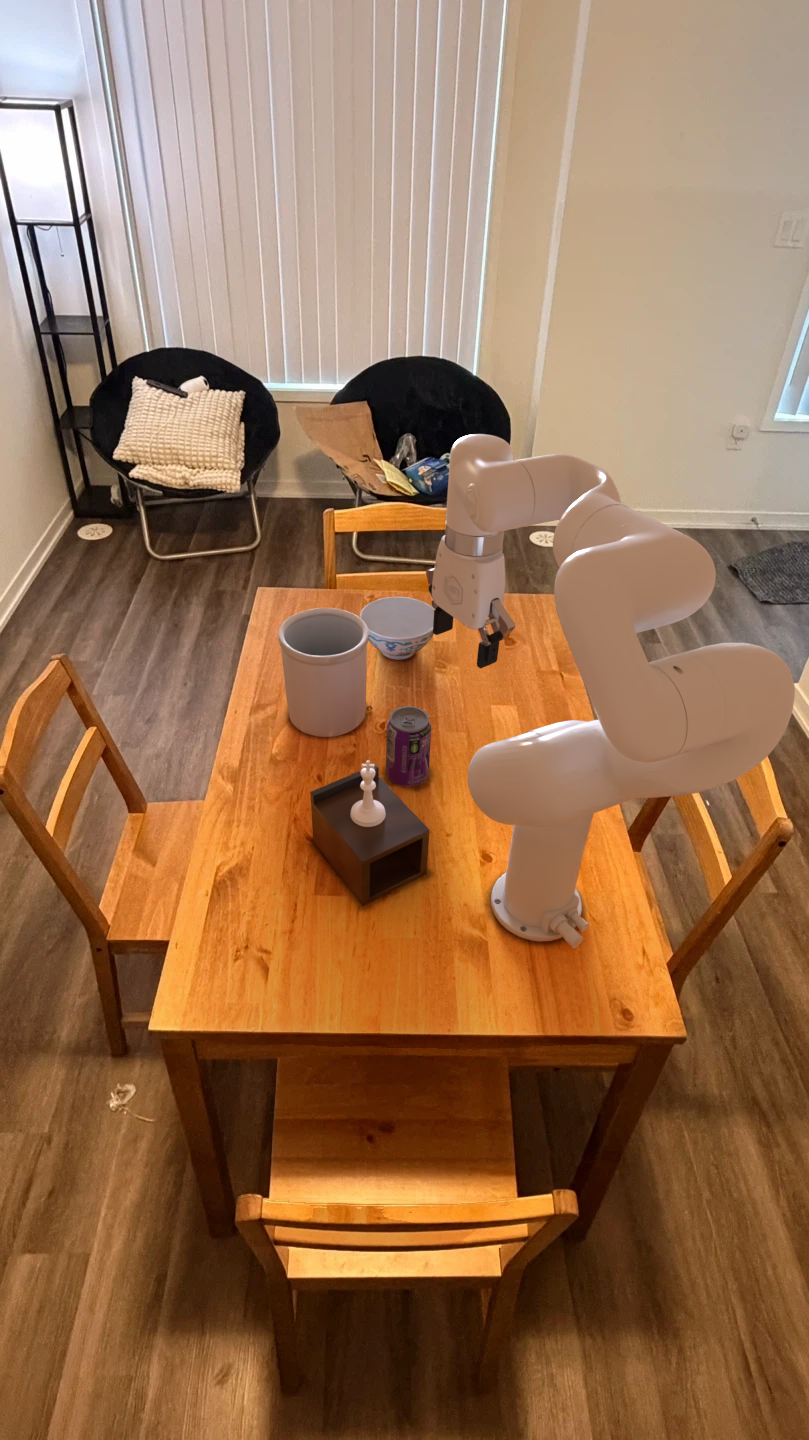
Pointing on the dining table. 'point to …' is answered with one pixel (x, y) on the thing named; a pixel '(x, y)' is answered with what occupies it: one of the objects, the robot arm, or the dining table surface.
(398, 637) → the chinaware
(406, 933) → the dining table surface
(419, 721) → the beverage can
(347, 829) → the open box
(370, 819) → the chess piece
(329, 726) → the utensil holder
